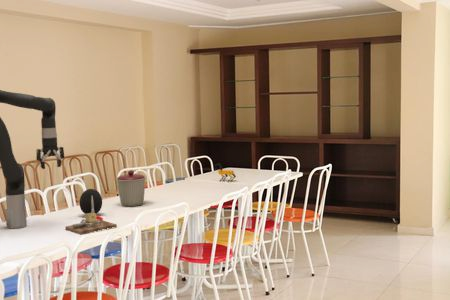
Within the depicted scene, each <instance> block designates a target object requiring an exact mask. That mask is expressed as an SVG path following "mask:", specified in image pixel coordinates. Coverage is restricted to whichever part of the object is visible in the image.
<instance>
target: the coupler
mask: <svg viewBox="0 0 450 300" xmlns="http://www.w3.org/2000/svg"><path fill="white" fill-rule="evenodd" d="M96 216H97V214H96V213H87V214H84V217H85V218H84V219H85V220H86V223H93V222H97V220H98V219H96Z"/></svg>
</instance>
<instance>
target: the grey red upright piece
mask: <svg viewBox="0 0 450 300" xmlns="http://www.w3.org/2000/svg"><path fill="white" fill-rule="evenodd" d="M91 206H92V210H91V213H94V202H93V196H91ZM96 219H97V220H103V219H104V218H103V217H102V216H100V215H96ZM103 221H104V220H103Z"/></svg>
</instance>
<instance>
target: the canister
mask: <svg viewBox="0 0 450 300" xmlns="http://www.w3.org/2000/svg"><path fill="white" fill-rule="evenodd" d="M146 179H147V176H145V175H144V174H138V173H135V172H134V171H133V170H132V169H131V170H128V172H127V174H123V175H119V176H117V177H116V178H115V180H116V183H117V190H118V194H119V195H118V196H119V200H120V203H121V205H122V206H124V207H136V206H137V207H138V206H141V205H143V203H144V200H145V187H146Z"/></svg>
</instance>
